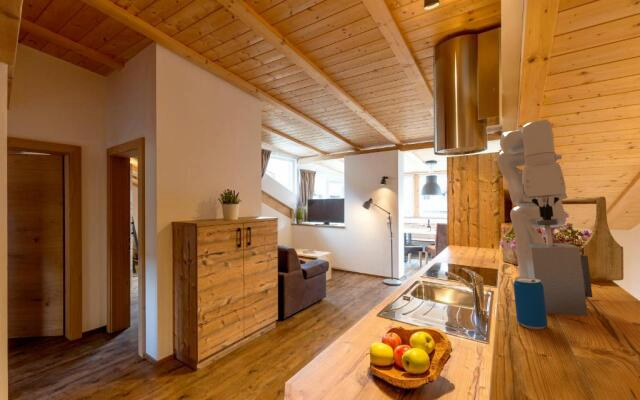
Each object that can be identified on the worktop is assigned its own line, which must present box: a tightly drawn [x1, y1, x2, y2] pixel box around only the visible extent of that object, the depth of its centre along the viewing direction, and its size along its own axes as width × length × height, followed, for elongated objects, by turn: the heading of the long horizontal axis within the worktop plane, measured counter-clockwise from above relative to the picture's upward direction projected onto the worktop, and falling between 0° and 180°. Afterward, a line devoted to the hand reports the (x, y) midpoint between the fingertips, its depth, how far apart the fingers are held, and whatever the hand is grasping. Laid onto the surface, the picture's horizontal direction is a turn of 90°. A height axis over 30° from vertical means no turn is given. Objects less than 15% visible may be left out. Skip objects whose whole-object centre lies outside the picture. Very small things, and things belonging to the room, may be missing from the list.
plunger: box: [537, 219, 558, 246], centre depth 86 cm, size 9×9×19 cm
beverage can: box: [512, 276, 548, 330], centre depth 74 cm, size 6×6×12 cm
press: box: [525, 242, 593, 317], centre depth 85 cm, size 11×14×19 cm
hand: (546, 219), depth 87 cm, fingers closed
